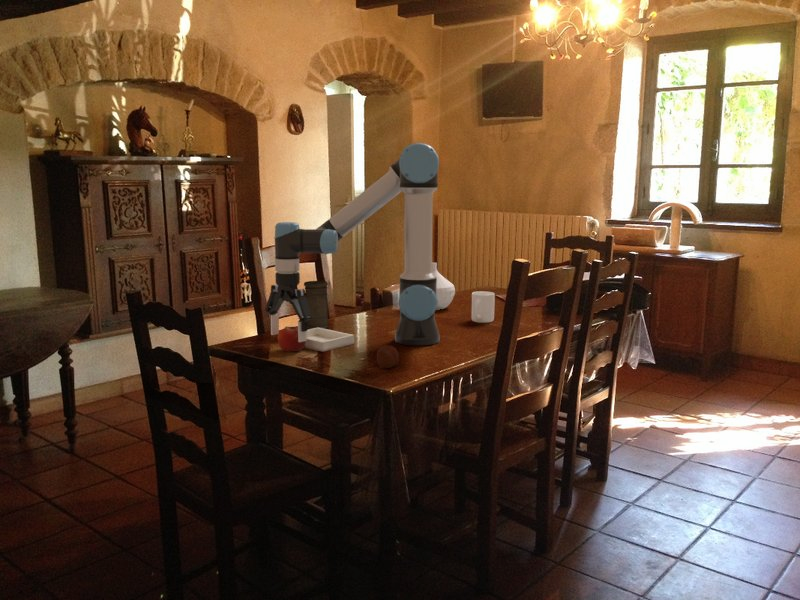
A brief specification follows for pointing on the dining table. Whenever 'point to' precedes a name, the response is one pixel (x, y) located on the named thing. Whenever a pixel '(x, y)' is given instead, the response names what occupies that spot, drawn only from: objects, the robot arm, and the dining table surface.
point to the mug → (483, 306)
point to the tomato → (290, 339)
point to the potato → (387, 357)
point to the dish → (327, 339)
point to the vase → (443, 289)
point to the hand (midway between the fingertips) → (288, 337)
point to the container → (317, 304)
